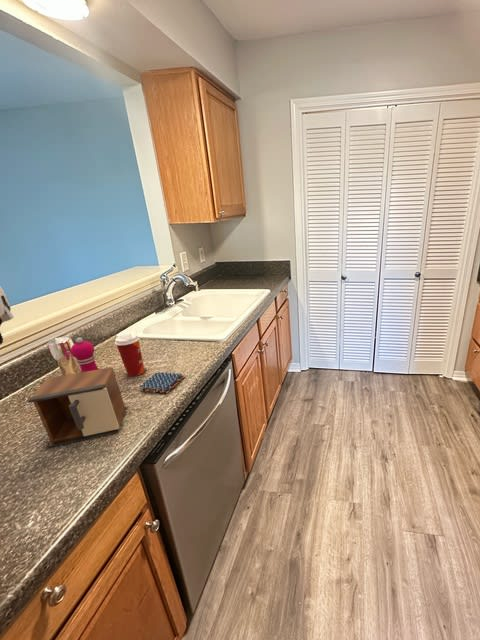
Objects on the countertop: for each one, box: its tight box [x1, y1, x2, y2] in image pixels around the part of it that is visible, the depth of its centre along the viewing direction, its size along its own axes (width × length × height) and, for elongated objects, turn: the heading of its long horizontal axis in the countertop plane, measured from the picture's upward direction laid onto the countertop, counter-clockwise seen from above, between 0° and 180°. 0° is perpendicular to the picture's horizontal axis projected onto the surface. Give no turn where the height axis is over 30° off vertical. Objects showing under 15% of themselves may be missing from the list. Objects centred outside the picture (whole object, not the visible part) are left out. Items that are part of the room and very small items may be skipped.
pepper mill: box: [71, 337, 100, 372], centre depth 101 cm, size 7×7×20 cm
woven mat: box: [139, 371, 185, 394], centre depth 108 cm, size 10×11×2 cm
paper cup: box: [114, 333, 145, 377], centre depth 114 cm, size 8×8×14 cm
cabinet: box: [27, 366, 126, 448], centre depth 87 cm, size 16×12×14 cm
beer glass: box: [47, 335, 81, 376], centre depth 112 cm, size 7×7×15 cm
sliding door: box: [68, 388, 120, 436], centre depth 82 cm, size 8×5×13 cm, turn 108°
